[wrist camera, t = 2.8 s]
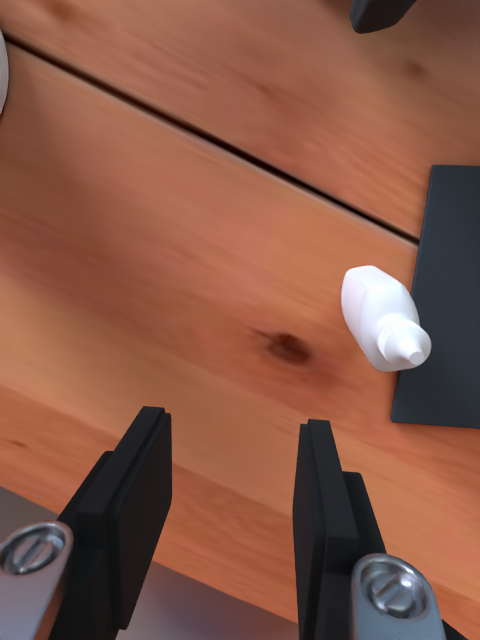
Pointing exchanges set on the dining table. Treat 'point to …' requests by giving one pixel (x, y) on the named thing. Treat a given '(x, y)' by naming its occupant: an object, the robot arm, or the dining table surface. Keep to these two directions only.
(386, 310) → the eye dropper bottle
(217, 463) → the dining table surface
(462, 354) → the mat
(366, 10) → the milk frother
